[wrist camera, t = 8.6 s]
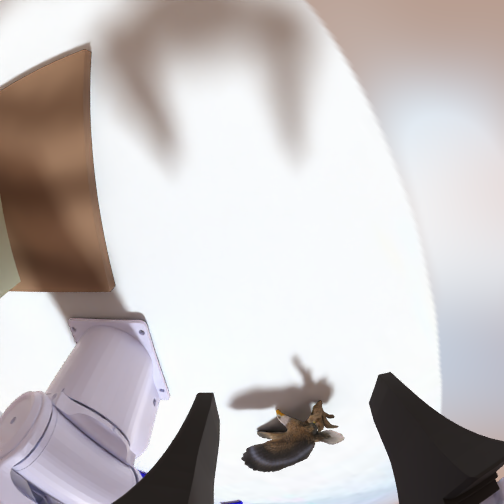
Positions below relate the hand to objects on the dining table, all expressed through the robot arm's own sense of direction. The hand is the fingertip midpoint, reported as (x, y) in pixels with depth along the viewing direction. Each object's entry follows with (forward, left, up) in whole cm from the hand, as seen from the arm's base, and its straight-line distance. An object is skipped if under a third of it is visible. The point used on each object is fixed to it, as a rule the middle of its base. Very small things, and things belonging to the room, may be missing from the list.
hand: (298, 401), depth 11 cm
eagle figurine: (-16, -1, -11) cm, 19 cm away
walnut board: (+10, +23, -10) cm, 27 cm away
